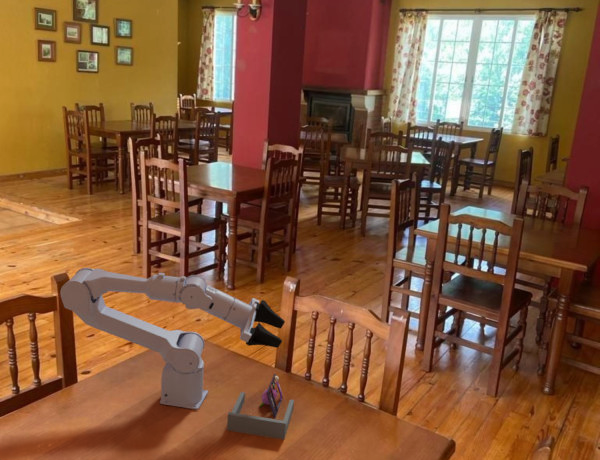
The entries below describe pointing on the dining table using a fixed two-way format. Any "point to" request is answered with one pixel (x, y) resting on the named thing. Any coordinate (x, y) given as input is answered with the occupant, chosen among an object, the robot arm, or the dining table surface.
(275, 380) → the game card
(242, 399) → the frame
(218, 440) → the dining table surface
